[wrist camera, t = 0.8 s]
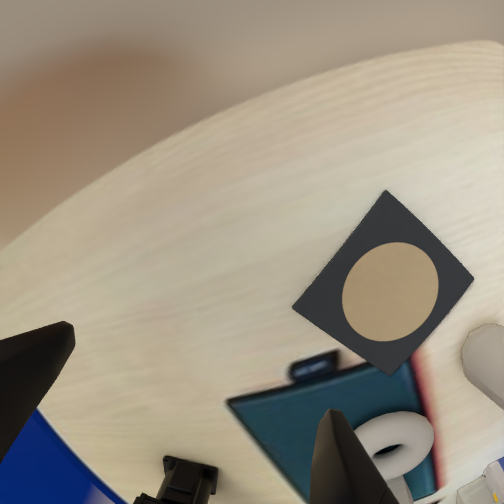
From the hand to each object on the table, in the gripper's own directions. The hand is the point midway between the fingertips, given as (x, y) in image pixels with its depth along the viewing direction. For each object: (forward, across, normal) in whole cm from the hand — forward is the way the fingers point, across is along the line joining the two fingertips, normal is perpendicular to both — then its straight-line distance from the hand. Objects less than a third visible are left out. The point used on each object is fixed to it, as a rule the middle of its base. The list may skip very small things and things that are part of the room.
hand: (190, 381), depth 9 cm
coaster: (+14, -11, +1) cm, 18 cm away
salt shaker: (+14, -23, +3) cm, 27 cm away
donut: (+12, -18, +16) cm, 27 cm away
